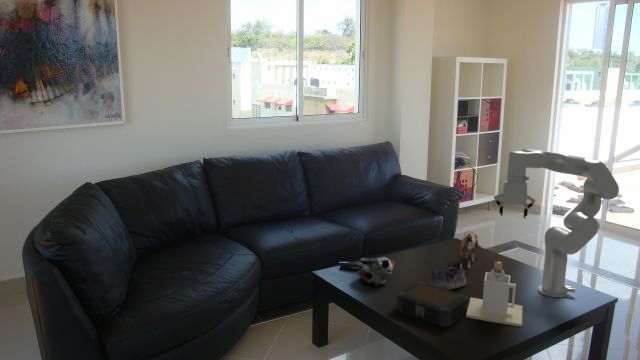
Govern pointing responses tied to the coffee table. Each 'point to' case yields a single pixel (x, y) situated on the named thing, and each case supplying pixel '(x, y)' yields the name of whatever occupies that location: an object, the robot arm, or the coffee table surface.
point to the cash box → (432, 303)
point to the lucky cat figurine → (376, 271)
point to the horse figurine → (468, 246)
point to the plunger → (498, 270)
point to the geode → (448, 278)
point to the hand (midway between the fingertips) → (512, 216)
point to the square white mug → (496, 302)
